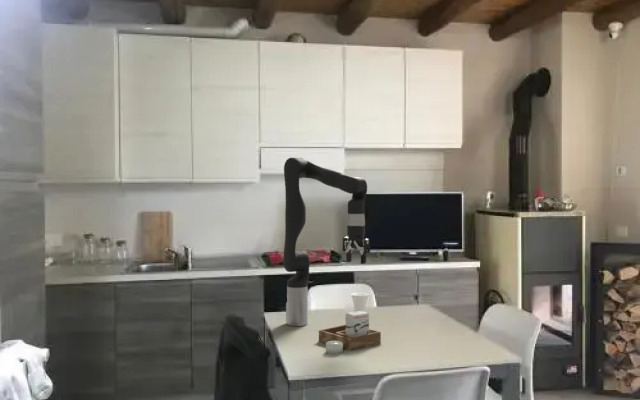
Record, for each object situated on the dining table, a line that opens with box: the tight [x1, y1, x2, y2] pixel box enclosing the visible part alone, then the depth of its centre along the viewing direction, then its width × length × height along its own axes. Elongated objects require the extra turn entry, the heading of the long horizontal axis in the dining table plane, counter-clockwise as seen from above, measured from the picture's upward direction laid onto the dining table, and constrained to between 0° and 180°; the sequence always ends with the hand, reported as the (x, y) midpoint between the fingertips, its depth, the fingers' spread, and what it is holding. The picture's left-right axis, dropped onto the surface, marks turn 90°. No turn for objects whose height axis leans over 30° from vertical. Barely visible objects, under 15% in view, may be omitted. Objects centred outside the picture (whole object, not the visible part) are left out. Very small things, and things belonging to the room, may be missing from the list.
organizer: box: [318, 324, 382, 352], centre depth 230 cm, size 18×17×4 cm
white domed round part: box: [325, 341, 344, 355], centre depth 217 cm, size 6×6×4 cm
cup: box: [350, 292, 371, 312], centre depth 281 cm, size 9×9×10 cm
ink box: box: [345, 311, 370, 337], centre depth 228 cm, size 9×5×12 cm, turn 125°
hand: (356, 262), depth 243 cm, fingers open, 8 cm apart
